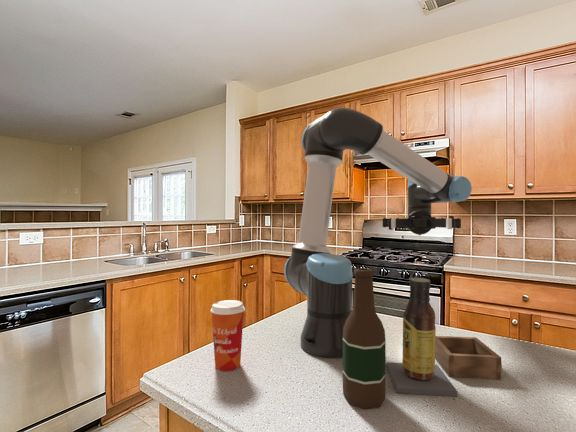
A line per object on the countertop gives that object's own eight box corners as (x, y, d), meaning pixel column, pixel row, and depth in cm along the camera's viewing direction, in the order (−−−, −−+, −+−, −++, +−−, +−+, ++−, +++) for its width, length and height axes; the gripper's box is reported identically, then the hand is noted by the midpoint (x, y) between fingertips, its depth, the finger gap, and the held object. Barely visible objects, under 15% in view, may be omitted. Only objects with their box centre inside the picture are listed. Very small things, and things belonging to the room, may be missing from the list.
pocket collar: (448, 376, 69) (448, 355, 69) (431, 353, 80) (431, 335, 80) (501, 379, 68) (501, 357, 68) (476, 356, 79) (476, 337, 79)
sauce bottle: (403, 365, 71) (404, 275, 72) (434, 371, 69) (435, 277, 69) (401, 379, 65) (402, 280, 66) (435, 385, 63) (436, 283, 63)
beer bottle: (387, 412, 56) (387, 273, 56) (341, 407, 58) (341, 271, 58) (383, 389, 64) (383, 266, 64) (343, 385, 65) (343, 265, 65)
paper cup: (203, 370, 72) (203, 306, 72) (222, 356, 79) (222, 298, 79) (234, 376, 69) (234, 310, 69) (251, 361, 76) (251, 301, 76)
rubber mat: (396, 392, 62) (396, 387, 62) (386, 366, 73) (386, 362, 73) (457, 396, 61) (457, 391, 61) (437, 369, 72) (437, 364, 72)
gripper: (464, 234, 99) (476, 239, 79) (379, 233, 108) (370, 237, 88) (464, 210, 99) (476, 208, 79) (378, 210, 108) (370, 209, 88)
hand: (420, 223), depth 83 cm, fingers open, 13 cm apart
